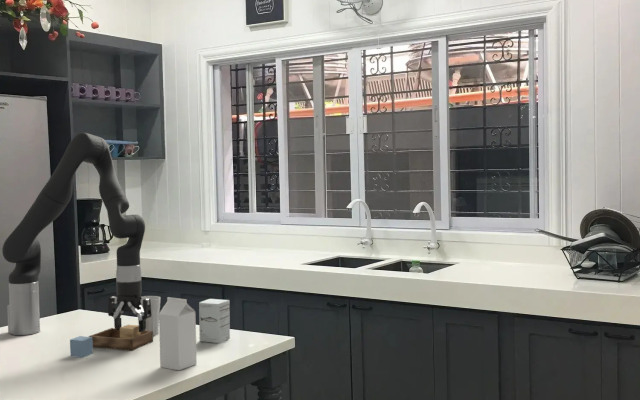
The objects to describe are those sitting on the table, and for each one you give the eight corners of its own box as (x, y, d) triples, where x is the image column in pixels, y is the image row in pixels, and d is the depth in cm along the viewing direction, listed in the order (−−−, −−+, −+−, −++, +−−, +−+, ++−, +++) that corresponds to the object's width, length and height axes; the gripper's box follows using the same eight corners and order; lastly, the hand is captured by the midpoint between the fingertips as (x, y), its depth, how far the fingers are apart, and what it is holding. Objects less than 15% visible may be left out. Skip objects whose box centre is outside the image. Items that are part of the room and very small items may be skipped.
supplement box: (198, 342, 224) (197, 302, 223) (210, 336, 231) (210, 298, 230) (219, 343, 221) (218, 303, 221) (230, 338, 228) (230, 299, 228)
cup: (164, 331, 239) (163, 296, 238) (156, 337, 231) (155, 300, 230) (141, 331, 240) (140, 295, 239) (133, 336, 232) (132, 300, 231)
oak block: (128, 340, 224) (128, 324, 224) (140, 341, 223) (140, 325, 222) (120, 343, 220) (119, 327, 220) (132, 344, 218) (132, 328, 218)
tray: (88, 346, 220) (88, 336, 220) (111, 338, 231) (111, 327, 230) (131, 350, 214) (131, 339, 214) (153, 341, 225) (152, 331, 225)
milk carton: (179, 371, 193) (177, 301, 192) (160, 367, 196) (158, 299, 195) (196, 364, 199) (195, 297, 198) (178, 361, 202) (176, 295, 201)
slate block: (70, 356, 209) (69, 339, 209) (80, 352, 214) (79, 336, 213) (83, 357, 208) (82, 340, 208) (92, 353, 212) (92, 337, 212)
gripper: (155, 278, 221) (156, 329, 222) (116, 276, 226) (118, 326, 227) (141, 282, 214) (142, 335, 215) (102, 280, 219) (103, 332, 220)
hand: (130, 330), depth 221 cm, fingers open, 8 cm apart
